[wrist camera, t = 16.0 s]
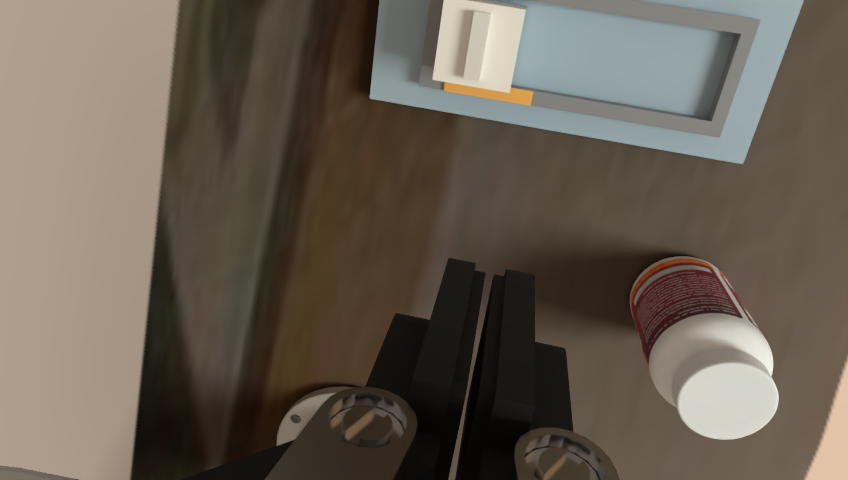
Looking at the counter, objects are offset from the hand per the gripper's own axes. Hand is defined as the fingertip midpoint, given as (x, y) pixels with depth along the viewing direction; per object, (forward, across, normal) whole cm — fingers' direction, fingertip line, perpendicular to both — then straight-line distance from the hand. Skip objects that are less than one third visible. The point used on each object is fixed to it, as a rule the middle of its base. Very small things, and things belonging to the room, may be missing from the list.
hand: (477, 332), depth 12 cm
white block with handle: (+26, +2, -3) cm, 26 cm away
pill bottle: (+27, -13, +11) cm, 32 cm away
